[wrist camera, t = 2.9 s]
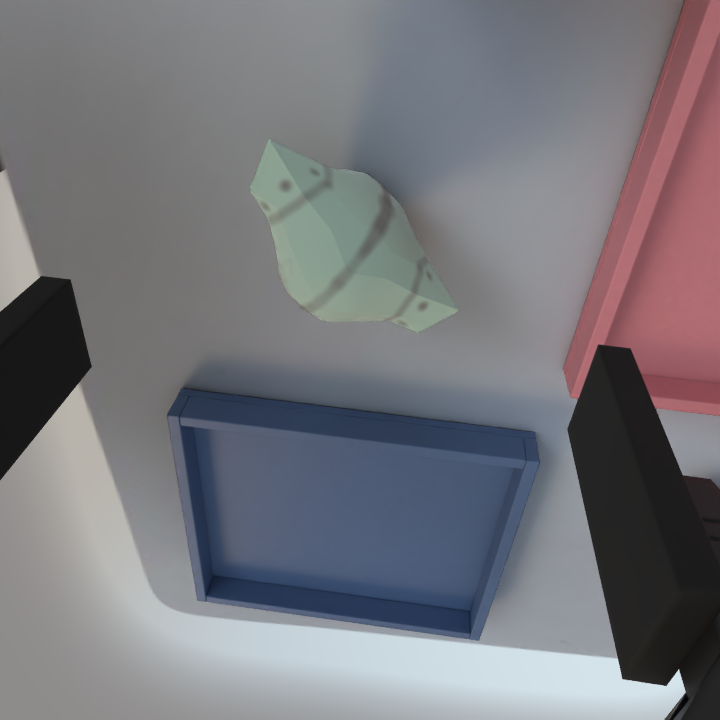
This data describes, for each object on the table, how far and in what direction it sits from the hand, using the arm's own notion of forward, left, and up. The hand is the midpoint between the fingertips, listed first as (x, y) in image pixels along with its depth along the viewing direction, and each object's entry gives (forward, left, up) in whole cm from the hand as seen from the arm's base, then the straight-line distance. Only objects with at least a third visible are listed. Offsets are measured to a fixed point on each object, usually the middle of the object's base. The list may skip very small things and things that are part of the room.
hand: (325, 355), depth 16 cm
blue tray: (0, -18, -10) cm, 20 cm away
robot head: (0, 0, -10) cm, 10 cm away
